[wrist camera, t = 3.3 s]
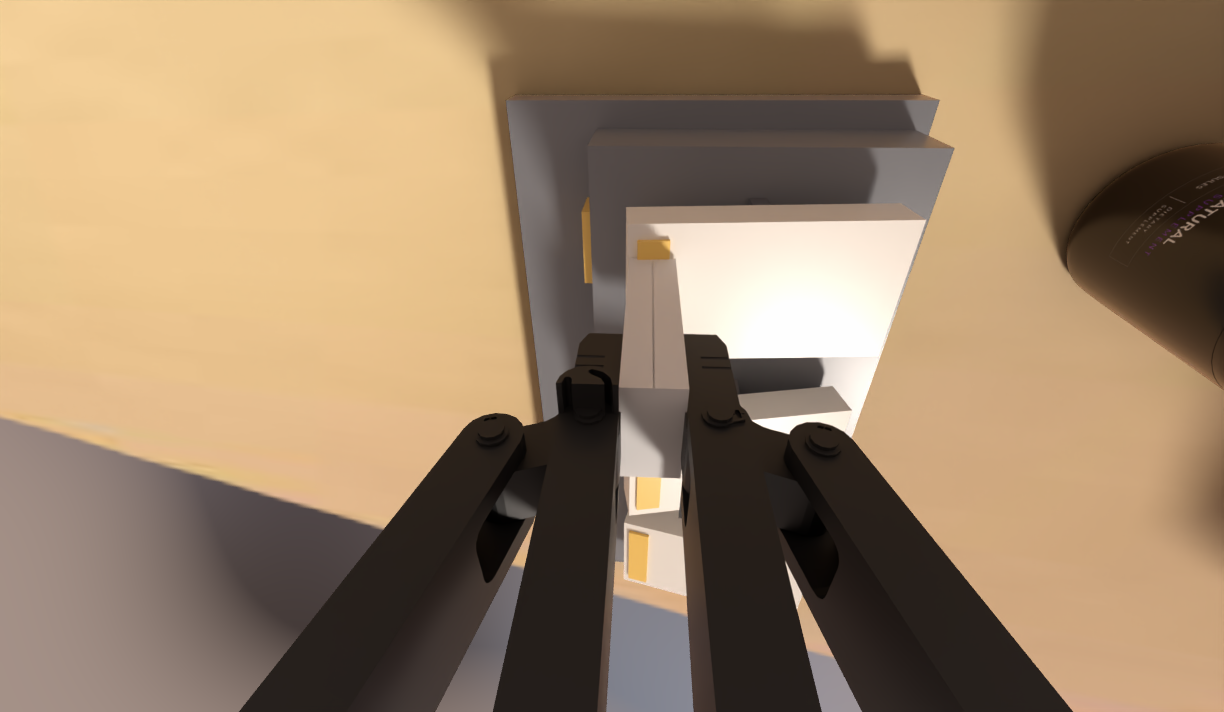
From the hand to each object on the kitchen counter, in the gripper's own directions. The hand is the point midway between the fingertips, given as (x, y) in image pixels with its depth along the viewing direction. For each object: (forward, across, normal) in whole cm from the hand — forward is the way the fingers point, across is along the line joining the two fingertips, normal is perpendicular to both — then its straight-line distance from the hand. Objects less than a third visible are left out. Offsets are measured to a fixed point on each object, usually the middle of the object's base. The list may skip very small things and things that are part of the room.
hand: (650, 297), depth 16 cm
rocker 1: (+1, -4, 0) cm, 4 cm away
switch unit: (+8, -2, +8) cm, 11 cm away
